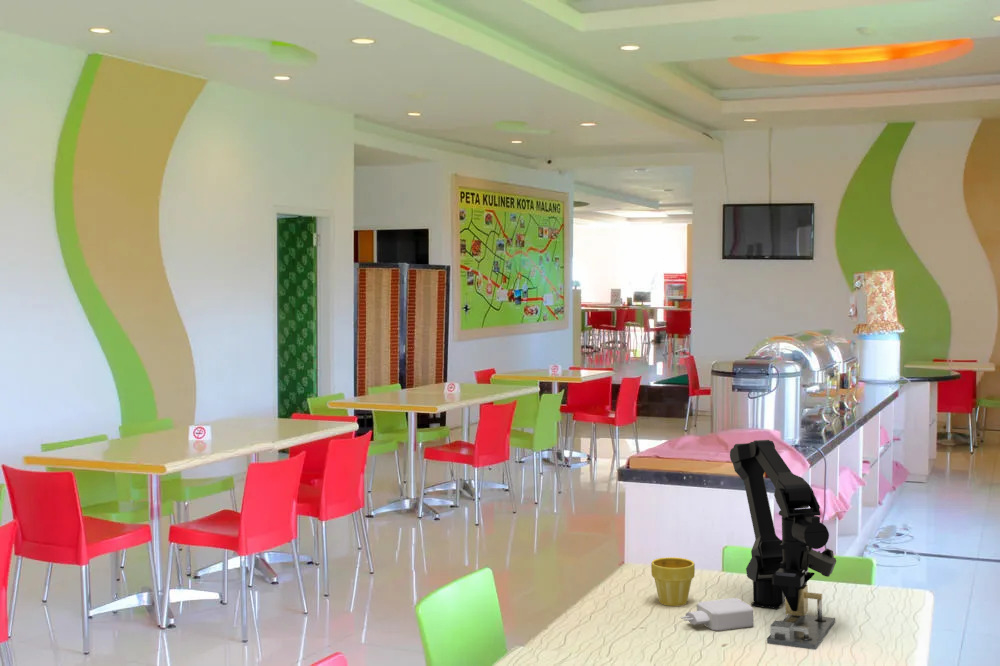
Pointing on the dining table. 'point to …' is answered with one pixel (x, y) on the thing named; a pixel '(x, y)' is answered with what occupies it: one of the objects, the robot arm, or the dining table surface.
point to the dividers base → (800, 631)
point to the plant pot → (673, 579)
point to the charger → (722, 614)
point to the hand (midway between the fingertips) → (796, 608)
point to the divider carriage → (805, 603)
